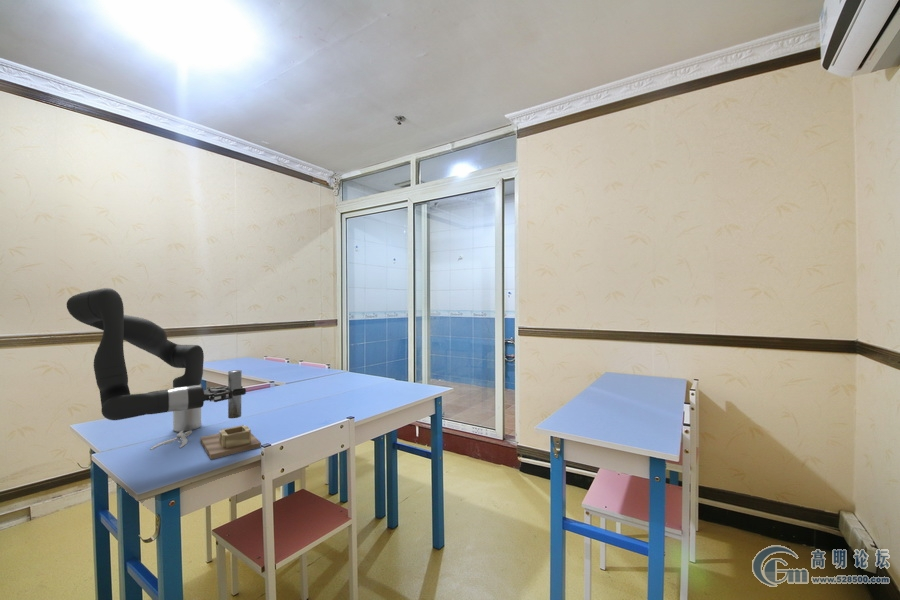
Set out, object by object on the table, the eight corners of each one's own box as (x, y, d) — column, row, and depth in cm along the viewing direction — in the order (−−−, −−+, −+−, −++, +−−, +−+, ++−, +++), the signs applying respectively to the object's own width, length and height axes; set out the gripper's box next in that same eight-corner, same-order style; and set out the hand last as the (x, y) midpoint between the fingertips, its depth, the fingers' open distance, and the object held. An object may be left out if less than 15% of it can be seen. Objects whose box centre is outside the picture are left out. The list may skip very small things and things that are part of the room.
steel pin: (227, 416, 131) (227, 371, 131) (239, 414, 134) (239, 369, 134) (229, 419, 128) (229, 372, 128) (242, 416, 131) (242, 371, 131)
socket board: (200, 441, 136) (200, 426, 135) (246, 431, 146) (246, 417, 145) (210, 459, 121) (210, 442, 121) (260, 447, 131) (260, 431, 131)
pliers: (149, 446, 128) (172, 431, 142) (149, 451, 128) (172, 435, 142) (181, 444, 130) (201, 429, 144) (181, 449, 130) (201, 433, 144)
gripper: (188, 390, 116) (249, 382, 128) (182, 382, 127) (239, 376, 138) (188, 414, 116) (249, 404, 128) (182, 404, 127) (239, 396, 138)
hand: (243, 389), depth 133 cm, fingers closed on steel pin, 4 cm apart
